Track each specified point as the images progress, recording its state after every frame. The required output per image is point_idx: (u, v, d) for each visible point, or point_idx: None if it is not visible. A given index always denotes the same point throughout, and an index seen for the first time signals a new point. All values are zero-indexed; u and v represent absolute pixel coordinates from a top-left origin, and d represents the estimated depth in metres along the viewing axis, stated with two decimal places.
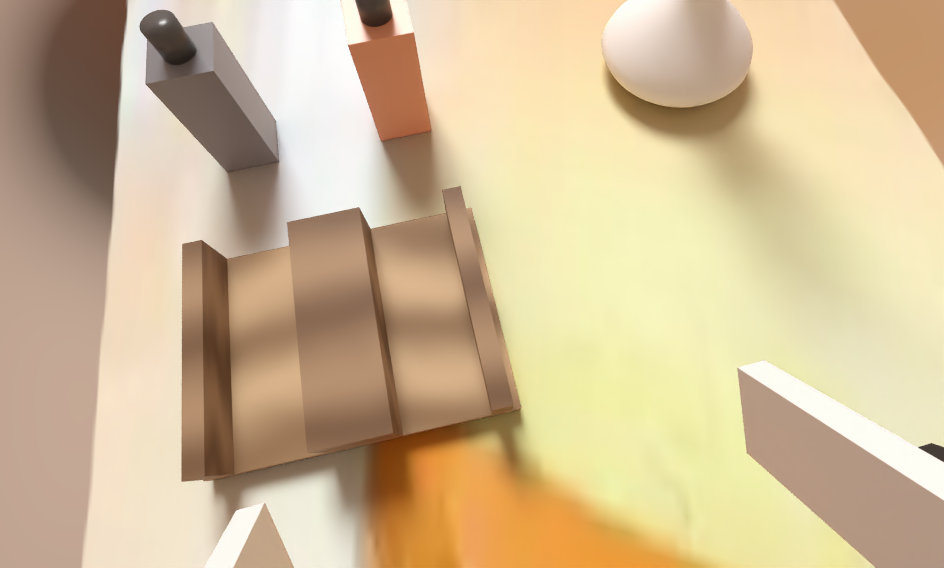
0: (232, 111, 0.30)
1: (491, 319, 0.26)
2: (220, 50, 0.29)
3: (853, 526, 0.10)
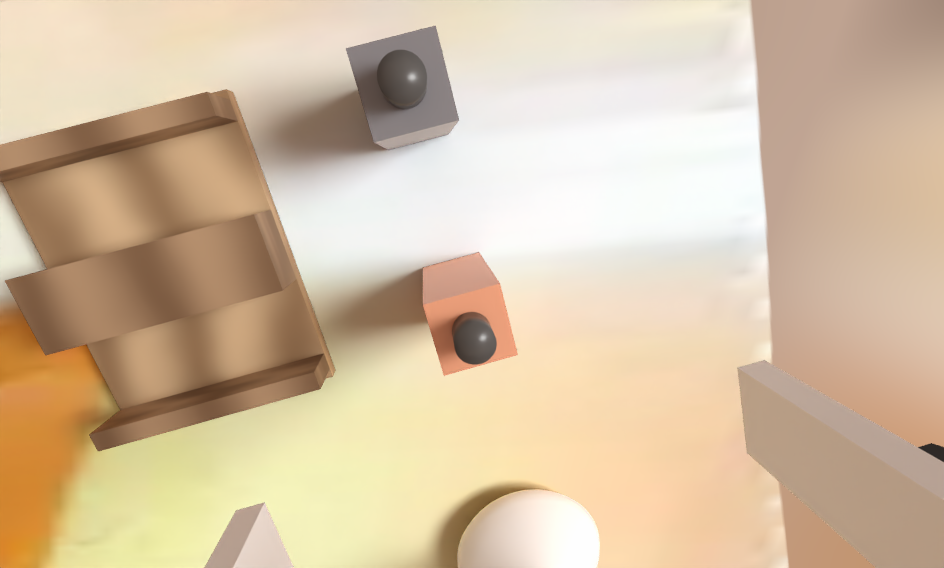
0: None
1: (176, 427, 0.28)
2: (428, 129, 0.22)
3: (853, 526, 0.10)
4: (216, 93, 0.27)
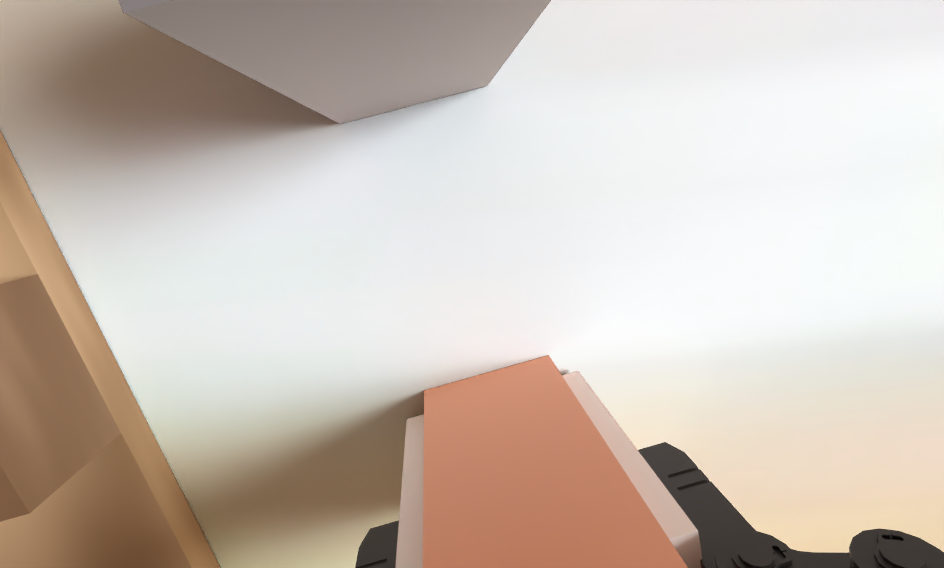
0: None
1: None
2: None
3: None
4: None
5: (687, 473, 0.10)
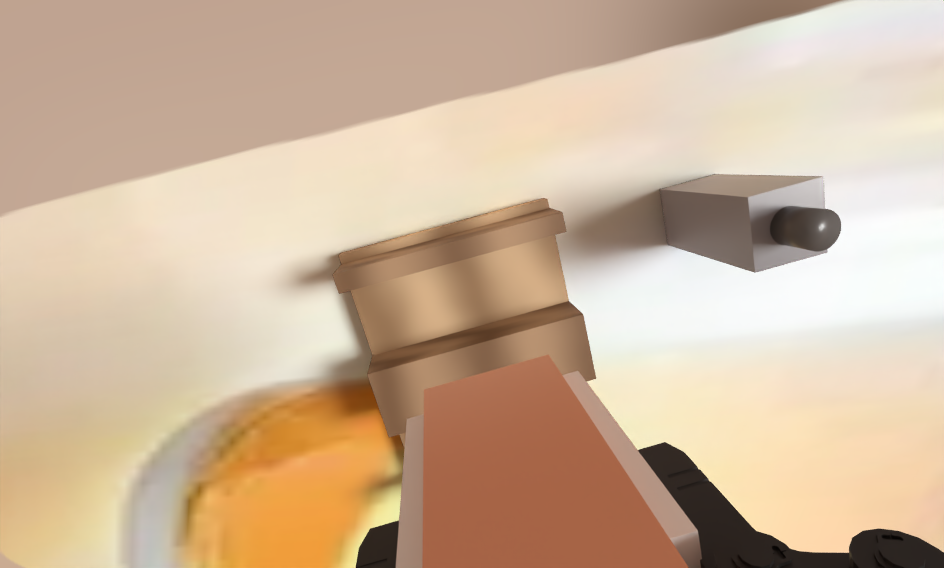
0: (715, 250, 0.27)
1: None
2: None
3: None
4: (538, 202, 0.30)
5: (687, 473, 0.10)
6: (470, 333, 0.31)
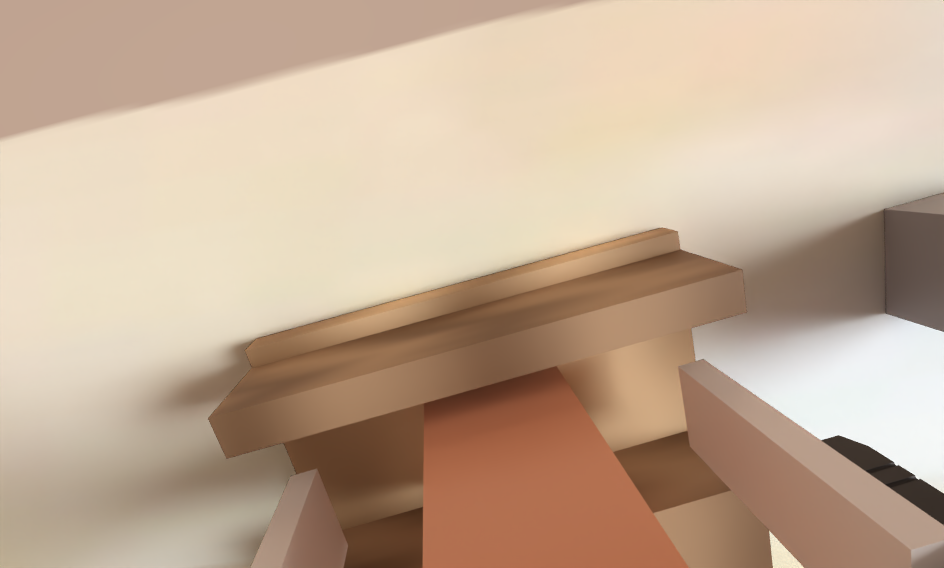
0: None
1: None
2: None
3: (769, 511, 0.10)
4: (659, 238, 0.15)
5: (885, 469, 0.09)
6: None
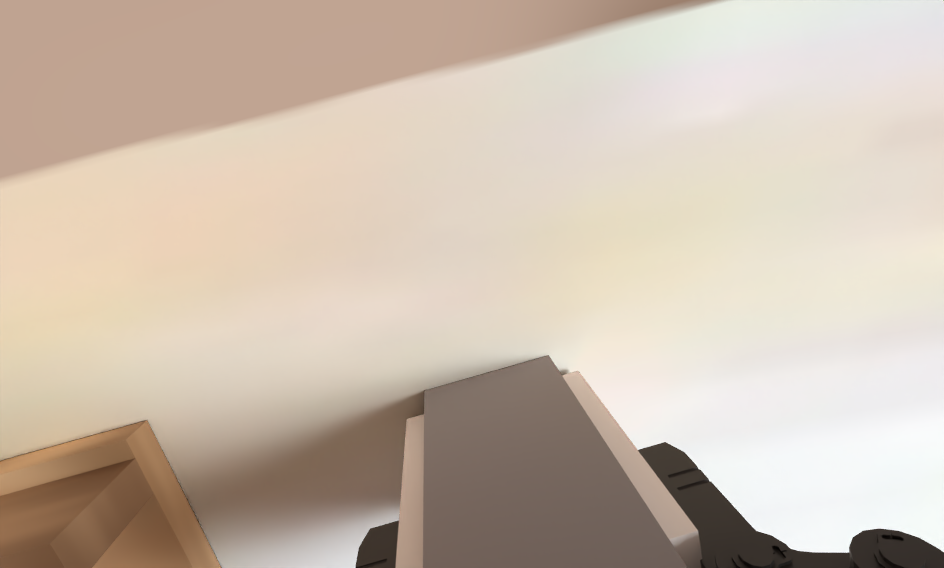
0: None
1: None
2: None
3: None
4: (104, 448, 0.13)
5: (687, 473, 0.10)
6: None
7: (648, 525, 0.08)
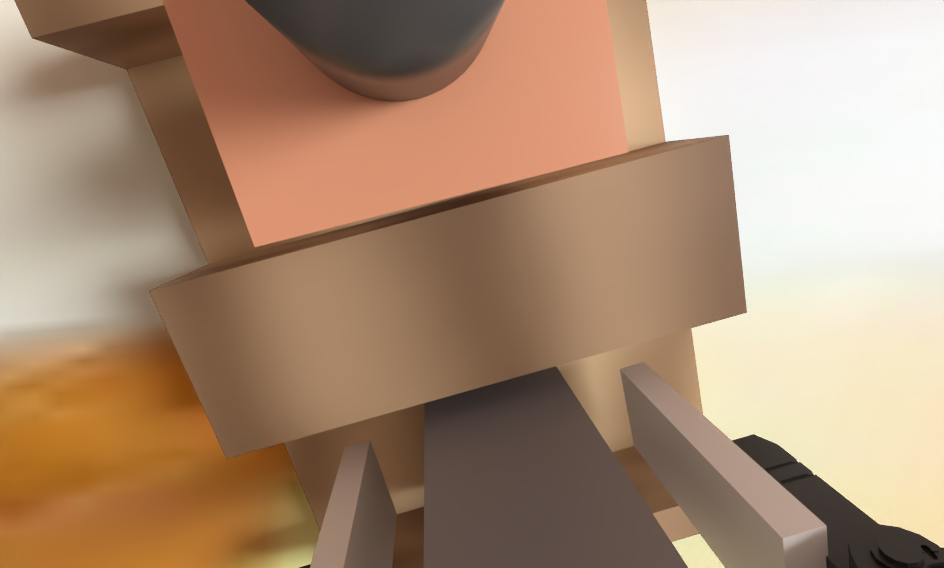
0: None
1: None
2: None
3: (691, 506, 0.11)
4: None
5: (786, 466, 0.10)
6: (436, 206, 0.13)
7: (629, 493, 0.08)
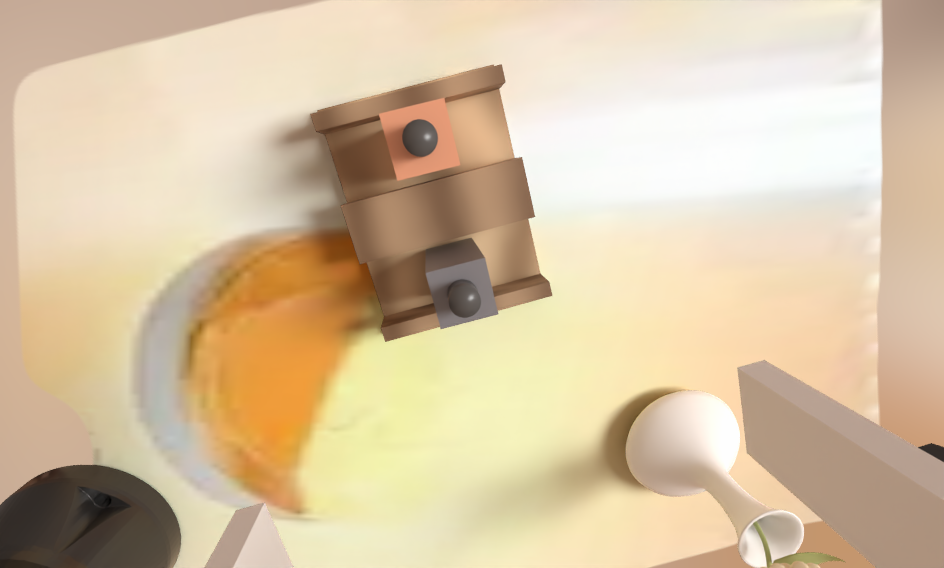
0: None
1: None
2: None
3: (853, 526, 0.10)
4: (486, 67, 0.36)
5: None
6: (429, 181, 0.36)
7: (479, 252, 0.32)
